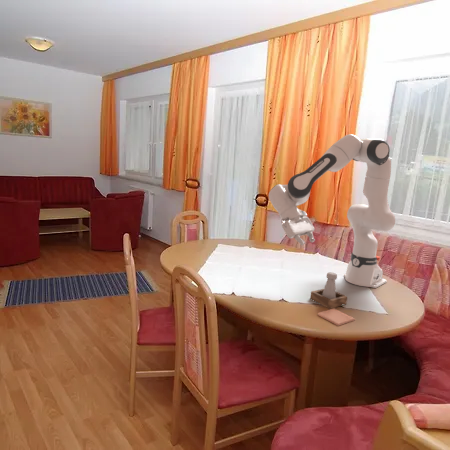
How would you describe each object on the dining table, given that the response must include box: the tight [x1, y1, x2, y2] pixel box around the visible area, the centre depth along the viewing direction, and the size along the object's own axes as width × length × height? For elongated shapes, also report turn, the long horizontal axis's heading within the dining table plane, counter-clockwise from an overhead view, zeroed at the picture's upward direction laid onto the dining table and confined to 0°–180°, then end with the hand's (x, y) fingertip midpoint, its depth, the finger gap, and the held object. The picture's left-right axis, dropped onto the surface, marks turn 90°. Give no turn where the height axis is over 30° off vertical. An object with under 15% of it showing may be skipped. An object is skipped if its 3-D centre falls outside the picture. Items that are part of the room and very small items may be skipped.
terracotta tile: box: [317, 308, 356, 327], centre depth 146 cm, size 10×10×1 cm
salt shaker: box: [322, 271, 338, 299], centre depth 160 cm, size 6×6×13 cm
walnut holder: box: [309, 288, 348, 310], centre depth 161 cm, size 11×11×4 cm
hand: (308, 243), depth 164 cm, fingers open, 8 cm apart
